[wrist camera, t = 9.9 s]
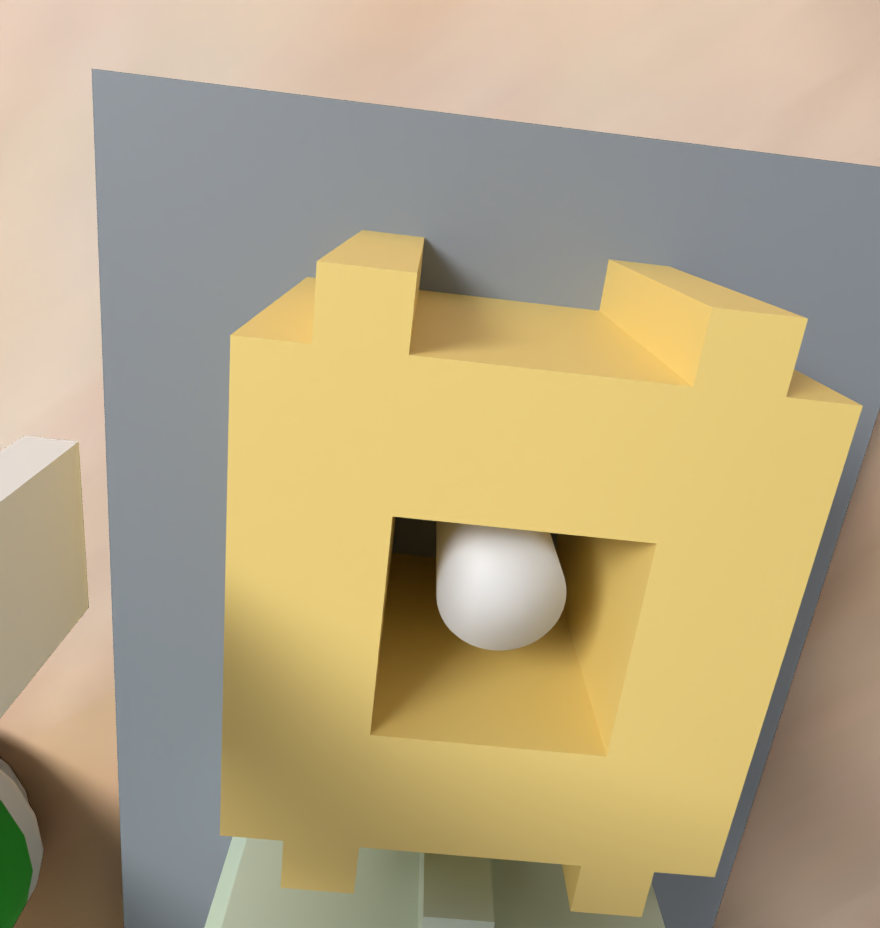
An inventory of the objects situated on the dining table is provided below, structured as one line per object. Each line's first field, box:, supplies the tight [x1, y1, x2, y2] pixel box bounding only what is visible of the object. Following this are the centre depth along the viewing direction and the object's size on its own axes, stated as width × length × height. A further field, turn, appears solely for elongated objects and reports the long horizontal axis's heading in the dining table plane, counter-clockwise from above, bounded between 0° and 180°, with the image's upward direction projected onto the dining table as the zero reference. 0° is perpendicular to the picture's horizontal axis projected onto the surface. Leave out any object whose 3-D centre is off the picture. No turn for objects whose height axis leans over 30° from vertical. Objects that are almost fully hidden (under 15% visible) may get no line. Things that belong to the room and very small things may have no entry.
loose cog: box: [220, 230, 863, 917], centre depth 14 cm, size 10×8×6 cm
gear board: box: [92, 69, 880, 928], centre depth 16 cm, size 24×16×8 cm, turn 174°
